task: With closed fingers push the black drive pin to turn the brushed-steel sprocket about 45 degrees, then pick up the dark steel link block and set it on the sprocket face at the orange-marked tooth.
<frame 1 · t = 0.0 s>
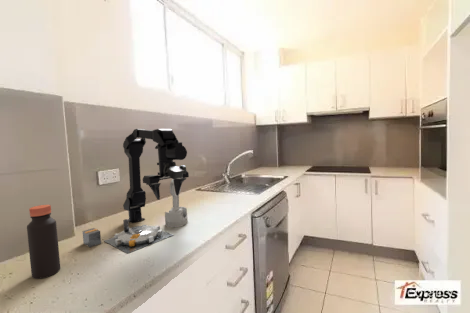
hand: (168, 197, 100), 15 cm above the counter, fingers open, 9 cm apart
sprocket: (138, 228, 96), point 4 cm above the counter, hinge at 0.0°
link: (92, 243, 93), on the counter
engine component: (177, 223, 113), on the counter
cover plate: (139, 238, 96), on the counter
bottle: (46, 273, 72), on the counter
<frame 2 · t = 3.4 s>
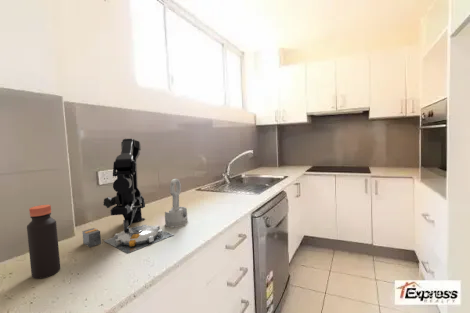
hand: (129, 225, 100), 4 cm above the counter, fingers closed
sprocket: (138, 228, 96), point 4 cm above the counter, hinge at 0.4°, touching gripper
everything else where it was.
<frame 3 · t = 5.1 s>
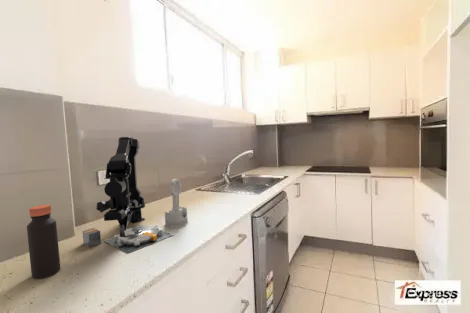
hand: (124, 230, 95), 4 cm above the counter, fingers closed
sprocket: (138, 228, 96), point 4 cm above the counter, hinge at 56.4°, touching gripper
everything else where it was.
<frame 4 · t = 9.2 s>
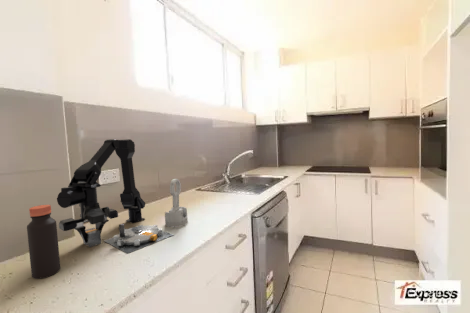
hand: (92, 240, 93), 1 cm above the counter, fingers closed on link, 4 cm apart
sprocket: (138, 228, 96), point 4 cm above the counter, hinge at 56.5°
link: (92, 243, 93), on the counter, touching gripper
everything else where it was.
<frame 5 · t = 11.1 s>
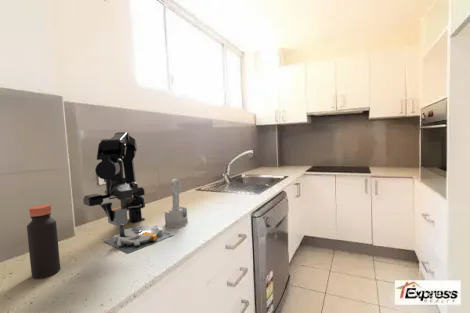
hand: (117, 219, 85), 11 cm above the counter, fingers closed on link, 4 cm apart
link: (118, 222, 85), point 10 cm above the counter, touching gripper
everything else where it was.
when the fingers open (5 cm above the counter, at t = 13.1 s): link drops 1 cm, resting on sprocket.
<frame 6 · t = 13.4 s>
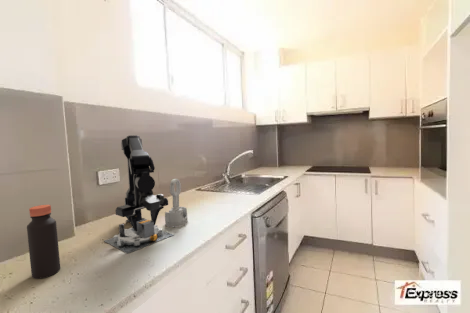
hand: (145, 228, 92), 5 cm above the counter, fingers open, 7 cm apart
sprocket: (138, 228, 96), point 4 cm above the counter, hinge at 56.5°, touching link
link: (145, 234, 93), point 3 cm above the counter, touching sprocket
everything else where it was.
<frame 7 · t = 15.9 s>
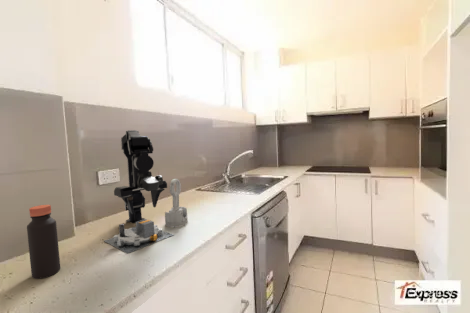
hand: (143, 210, 92), 12 cm above the counter, fingers open, 9 cm apart
nothing on the counter moved.
at the end: sprocket at +56° (first picture: +0°); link 0.0 cm from the target spot, point 2.5 cm above the counter; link tilted 0° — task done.
